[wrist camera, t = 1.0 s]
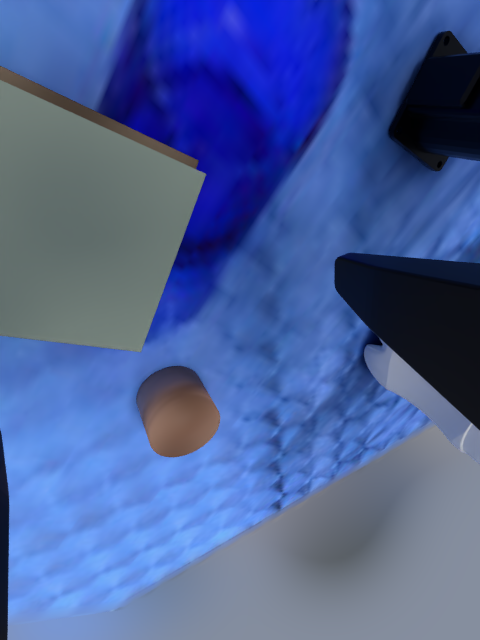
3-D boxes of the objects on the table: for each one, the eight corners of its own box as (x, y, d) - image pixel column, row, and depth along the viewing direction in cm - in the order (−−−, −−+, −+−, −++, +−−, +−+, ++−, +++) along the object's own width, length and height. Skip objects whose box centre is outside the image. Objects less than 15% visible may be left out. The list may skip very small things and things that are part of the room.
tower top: (183, 163, 17) (206, 174, 15) (128, 323, 20) (140, 351, 18) (-51, 56, 12) (-71, 47, 10) (-81, 289, 15) (-102, 323, 13)
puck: (209, 368, 28) (230, 402, 25) (187, 418, 30) (204, 455, 27) (148, 362, 25) (164, 399, 22) (127, 417, 27) (139, 459, 24)
